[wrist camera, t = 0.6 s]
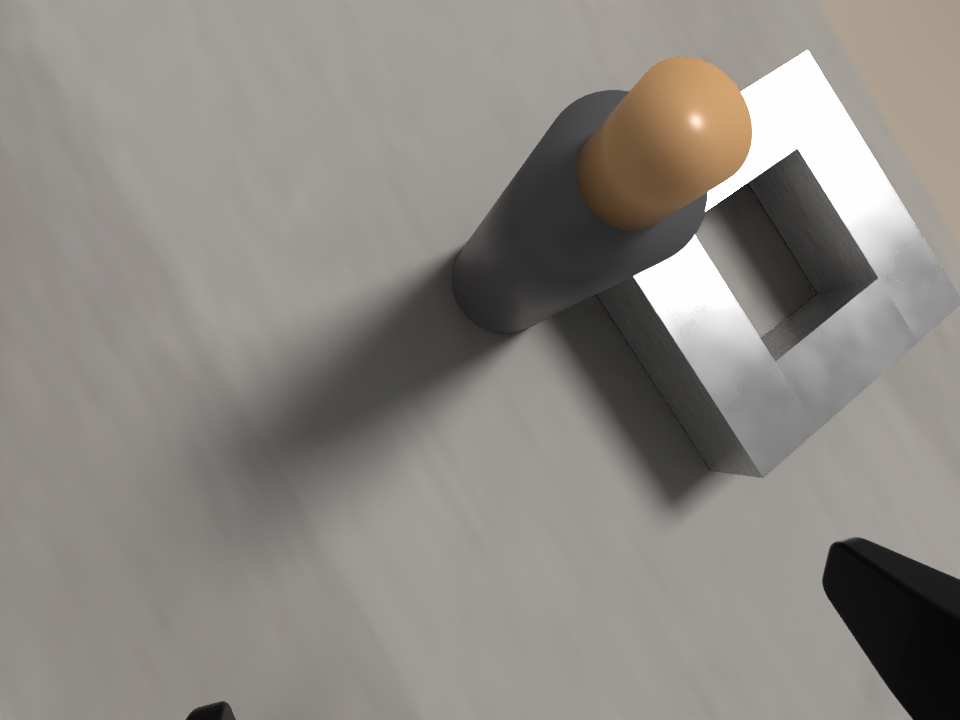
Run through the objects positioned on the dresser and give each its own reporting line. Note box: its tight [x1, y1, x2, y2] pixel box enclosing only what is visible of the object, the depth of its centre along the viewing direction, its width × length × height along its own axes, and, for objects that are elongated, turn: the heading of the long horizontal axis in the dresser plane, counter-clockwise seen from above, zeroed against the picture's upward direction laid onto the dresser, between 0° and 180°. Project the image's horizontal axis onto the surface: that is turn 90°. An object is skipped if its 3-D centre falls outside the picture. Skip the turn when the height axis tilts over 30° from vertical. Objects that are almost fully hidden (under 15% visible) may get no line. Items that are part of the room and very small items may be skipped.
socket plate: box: [597, 50, 960, 478], centre depth 24 cm, size 12×12×3 cm
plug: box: [452, 57, 753, 333], centre depth 16 cm, size 4×4×12 cm
